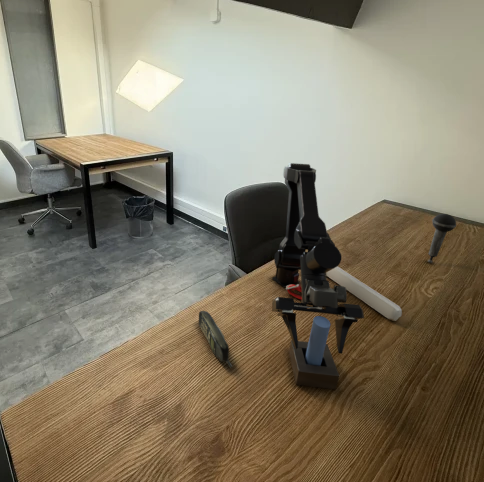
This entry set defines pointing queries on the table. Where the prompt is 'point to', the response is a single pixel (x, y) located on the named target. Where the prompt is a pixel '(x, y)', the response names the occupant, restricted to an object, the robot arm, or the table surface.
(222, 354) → the mobile phone
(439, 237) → the microphone
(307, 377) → the stand
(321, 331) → the peg
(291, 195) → the robot arm
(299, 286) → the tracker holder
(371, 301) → the tube
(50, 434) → the table surface
